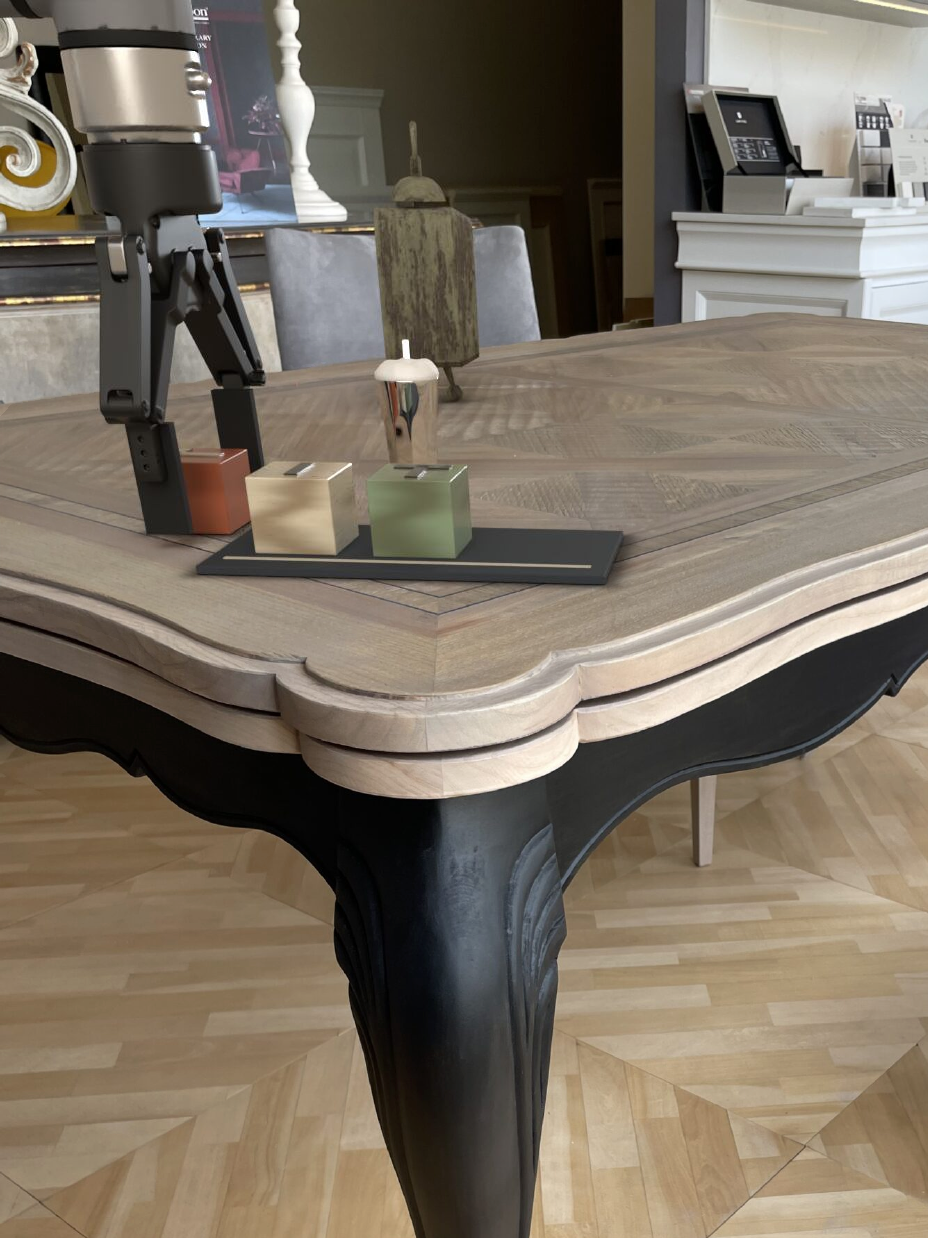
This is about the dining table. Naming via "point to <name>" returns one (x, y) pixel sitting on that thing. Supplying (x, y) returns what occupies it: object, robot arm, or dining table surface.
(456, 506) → the frosted jade cube
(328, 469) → the slotted beige cube
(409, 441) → the milkshake
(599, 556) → the word mat
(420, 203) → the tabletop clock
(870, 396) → the dining table surface
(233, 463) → the copper orange cube
